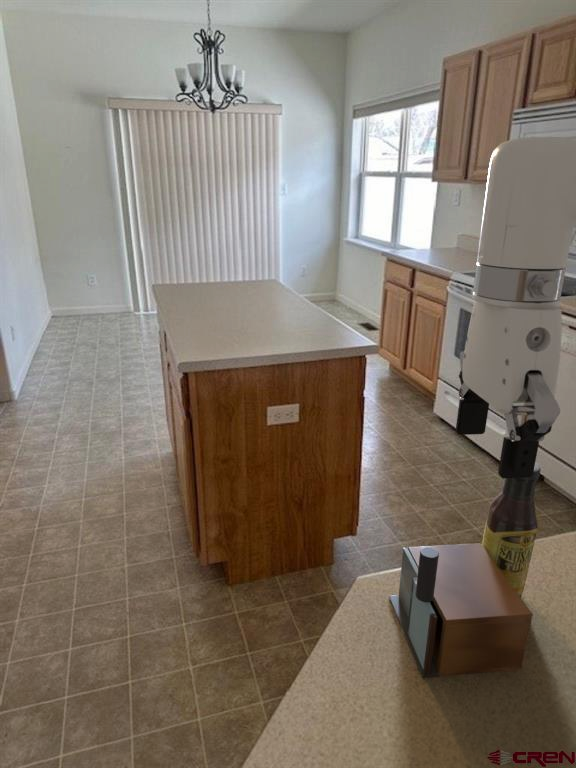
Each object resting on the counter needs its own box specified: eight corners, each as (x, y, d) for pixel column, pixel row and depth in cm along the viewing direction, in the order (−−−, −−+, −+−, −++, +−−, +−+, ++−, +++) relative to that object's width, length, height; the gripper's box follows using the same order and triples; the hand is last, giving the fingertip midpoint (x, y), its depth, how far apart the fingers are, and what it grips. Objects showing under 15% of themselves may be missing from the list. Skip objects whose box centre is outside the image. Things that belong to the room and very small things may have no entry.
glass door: (416, 630, 67) (427, 534, 62) (436, 673, 61) (449, 571, 56) (401, 631, 66) (411, 535, 62) (419, 675, 60) (431, 572, 56)
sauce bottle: (491, 612, 70) (514, 479, 64) (465, 581, 76) (483, 456, 69) (533, 603, 72) (560, 472, 65) (504, 573, 78) (526, 450, 71)
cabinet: (472, 591, 74) (480, 542, 71) (521, 669, 62) (532, 613, 59) (388, 597, 73) (393, 548, 70) (421, 677, 60) (428, 621, 58)
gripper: (619, 302, 41) (577, 495, 47) (508, 273, 58) (486, 419, 63) (528, 302, 40) (496, 499, 46) (441, 273, 57) (425, 421, 62)
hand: (490, 453), depth 55 cm, fingers open, 9 cm apart
